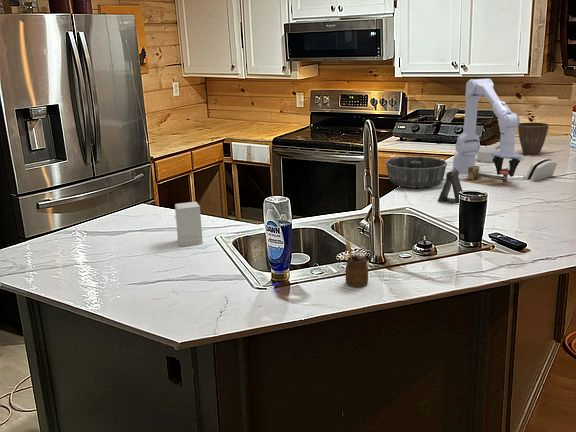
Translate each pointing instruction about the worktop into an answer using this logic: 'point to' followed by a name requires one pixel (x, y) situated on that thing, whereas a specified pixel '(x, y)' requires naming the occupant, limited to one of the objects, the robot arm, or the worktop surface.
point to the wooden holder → (473, 173)
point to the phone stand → (455, 184)
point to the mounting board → (488, 182)
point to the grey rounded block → (541, 169)
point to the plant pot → (532, 137)
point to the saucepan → (486, 154)
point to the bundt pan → (416, 171)
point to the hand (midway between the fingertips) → (505, 175)
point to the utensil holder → (356, 269)
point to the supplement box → (188, 223)
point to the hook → (501, 171)
